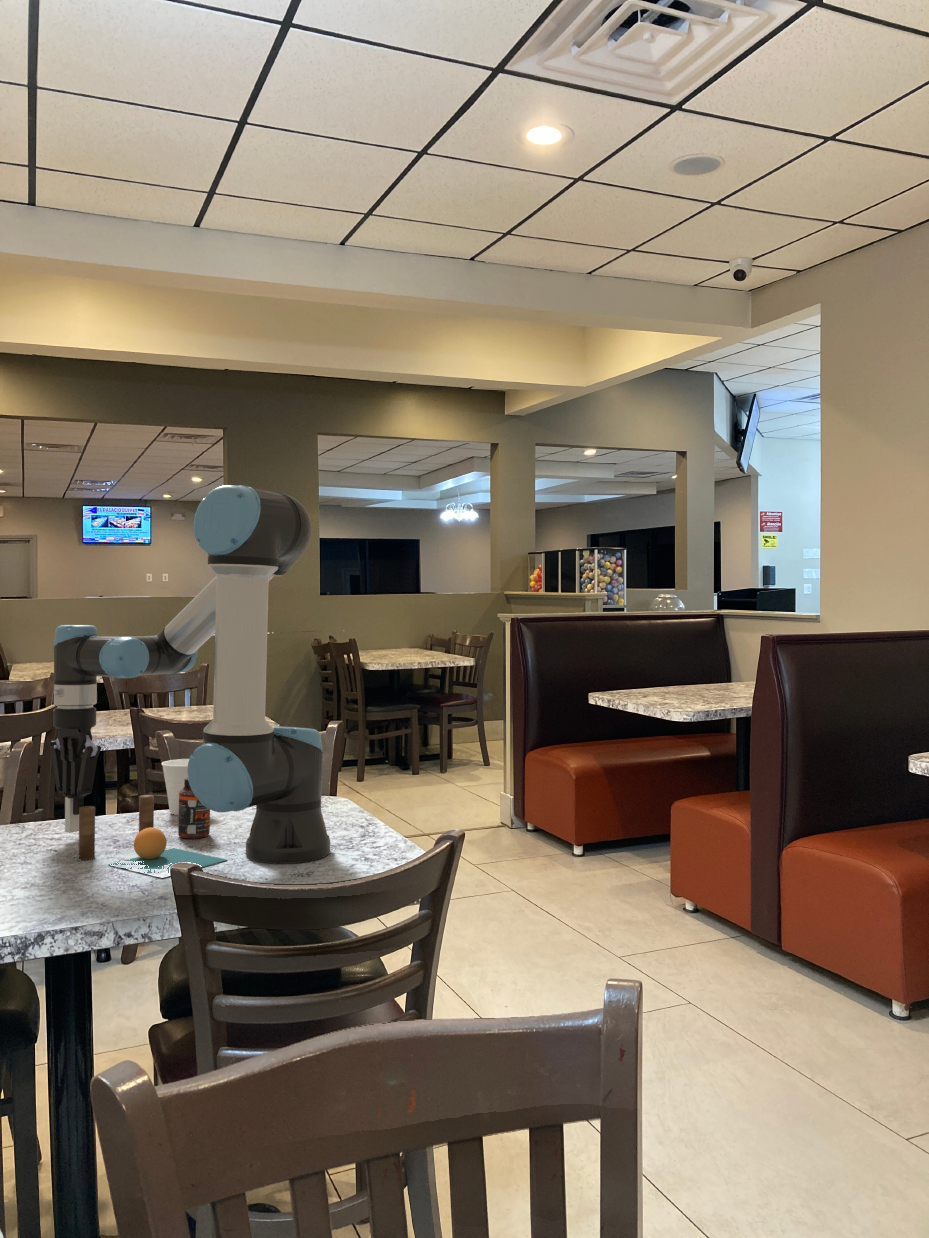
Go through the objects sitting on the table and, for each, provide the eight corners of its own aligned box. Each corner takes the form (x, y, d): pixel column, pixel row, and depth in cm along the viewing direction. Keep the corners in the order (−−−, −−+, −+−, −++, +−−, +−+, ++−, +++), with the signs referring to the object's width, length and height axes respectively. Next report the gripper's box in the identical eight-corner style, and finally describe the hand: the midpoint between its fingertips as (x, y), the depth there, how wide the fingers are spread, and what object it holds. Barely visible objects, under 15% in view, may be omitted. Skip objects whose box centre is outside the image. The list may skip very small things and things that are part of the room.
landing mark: (227, 860, 165) (227, 859, 165) (162, 879, 153) (162, 877, 153) (174, 849, 172) (174, 847, 172) (108, 865, 161) (108, 864, 161)
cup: (215, 808, 208) (215, 759, 208) (198, 818, 198) (198, 766, 198) (172, 807, 209) (172, 758, 209) (152, 817, 199) (153, 765, 199)
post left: (97, 857, 165) (98, 807, 165) (84, 861, 163) (85, 809, 163) (88, 855, 167) (89, 805, 167) (75, 858, 165) (76, 807, 165)
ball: (148, 836, 170) (162, 861, 168) (122, 842, 165) (136, 868, 163) (164, 818, 167) (177, 844, 165) (138, 824, 163) (151, 851, 161)
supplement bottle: (198, 840, 179) (198, 781, 179) (171, 838, 181) (172, 779, 181) (216, 834, 185) (216, 776, 184) (190, 831, 186) (190, 774, 186)
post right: (156, 843, 176) (156, 795, 176) (144, 846, 174) (145, 798, 174) (147, 841, 177) (147, 794, 177) (135, 844, 175) (136, 796, 175)
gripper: (36, 705, 178) (35, 829, 178) (78, 710, 171) (77, 839, 171) (71, 702, 184) (70, 822, 184) (114, 707, 177) (112, 831, 177)
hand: (73, 830), depth 177 cm, fingers closed
